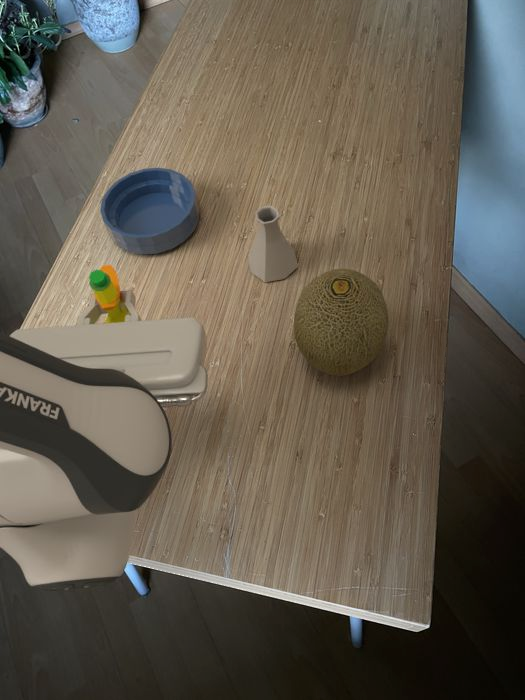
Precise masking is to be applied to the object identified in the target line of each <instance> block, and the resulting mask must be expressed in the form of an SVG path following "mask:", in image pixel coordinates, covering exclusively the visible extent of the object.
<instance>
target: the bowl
mask: <svg viewBox="0 0 525 700" xmlns="http://www.w3.org/2000/svg"><path fill="white" fill-rule="evenodd" d="M100 204H101V205H100V209H99V210H100V215H101V218H102V221H103V224H104V226H105V229H106V231H107V232H108V235H109V237H110V239H111V240H112V241H113V243H114V244H115V245H116V246H118V247H119V248H121V249H123V250H125V251H126V252H129V253H133V254H138V255H153V254H160V253H165V252H166V251H170V250H172V249H175V248H176V247H178V246H179V245H181V244H183V243H184V242H185V241H186V240H187V239H188V238H190V236H191V235H192V234H193V233H194V231H195V230H196V227H197V225H198V223H199V220H200V206H199V202H198V198H197V195H196V190H195V189H194V186H193V184H192V182H191V181H190V179H188V178H187V177H186V176H185V175H184V174H182V173H181V172H178V171H176V170H173V169H171V168H163V167H150V168H142V169H139V170H136V171H132V172H129V173H128V174H126V175H124V176H122V177H121V178H119V179H117V180H116V181H115V182H114V183H113V184H112V185H111V186H110V187H109V188H108V189H107V191H106V192H105V193H104V196H103V197H102V199H101V203H100Z"/></svg>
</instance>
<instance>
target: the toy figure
mask: <svg viewBox="0 0 525 700" xmlns="http://www.w3.org/2000/svg"><path fill="white" fill-rule="evenodd" d="M115 270H116V269H115V268H114V267H113V266H112V265H111V264H106V265H102V266H101V267H100V268H99V269H94V270H93V271H91V272H90V274H89V275H88V276H89V277H88V279H89V283H88V284H89V286H90V288H91V289H92V291H93V293H94V297H95V298H96V300H97V301H98V303H99V304H100V306H101V307H102V309H103V310H106V311H107V312H108V314H107V316H106V318H105V320H104V321H105V322H104V323H116V322H125V316H126V315H130V314H129V312H124V313H121V310H120V306H119V301H120V298H119V297H120V291H121V288H120V283H119V278H118V274H117V272H116V271H115Z"/></svg>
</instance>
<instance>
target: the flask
mask: <svg viewBox="0 0 525 700" xmlns="http://www.w3.org/2000/svg"><path fill="white" fill-rule="evenodd" d="M254 215H255V219H256V222H257V223H258V226H257V233H256V235H255V238H254V241H253V243H252V245H251V248H250V250H249V253H248V255H247V260H248V267H249V271H250V273H251V274H252V275H254V276H255V277H257V278H258V279H259V280H260V281H262V282H263V283H268V282H269V283H270V282H276V281H279V280H285V279H286V278H287V277H289V276H290V275H291V274H292V273H293V272H295V271H296V269H298V268H299V264H298V260H297V255H296V251H295V250H294V248H293V247H292V245H291V244H290V242H289V241H288V240H287V238H286V236H285V235H284V233H283V231H282V229H281V228H280V225H279V221H280V219H281V215H280V211H279V209H278V208H277V207H275V206H274V205H272V204H268V205H264V206H261V207H259V208H258V209H257V210H256V211H255V212H254Z"/></svg>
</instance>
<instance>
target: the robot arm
mask: <svg viewBox="0 0 525 700" xmlns="http://www.w3.org/2000/svg"><path fill="white" fill-rule="evenodd" d="M119 298H120V301H119V306H120V310H121V313H124V312H129V314H130V315H126V316H125V322H116V323H105V322H103V323H97V322H98V320H99V319H100V317H101V316H102V315H108V312H107V311H106V310H103V309H102V307H101V306H100V304H99V303H98V301H97V300H96V298H95V297H94V292H92V293H91V298H90V304H89V305H88V306H86V308H85V309H84V310H83V311H82V312H81V313H80V314H79V315H78V317H77V318H76V323H75V324H76V325H62V326H47V327H32V328H18V329H15V330H14V331H13V332H12V333H11V334H10V335H8V334H6V333H4V332H2V331H0V549H2V550H3V551H5V553H7V554H8V555H9V556H10V557H11V558H12V559H13V560H14V561H15V562H16V563H17V565H18V566H19V567H20V569H21V571H22V573H23V576H24V577H25V581H26V582H27V584H28V585H29V586H31V587H32V588H34V589H37V590H39V591H43V592H57V591H58V592H59V591H69V590H75V589H76V590H77V589H85V588H93V587H101V586H106V585H109V584H111V583H114V582H115V581H116V580H117V579H119V578H120V577H122V575H123V574H124V572H125V569H126V568H127V566H128V562H129V559H130V556H131V552H132V548H133V544H134V538H135V532H136V528H137V527H136V526H137V520H138V512H139V511H138V510H139V508H141V507H142V506H143V505H144V504H145V503H146V502H147V500H148V498H150V497H151V495H152V494H153V492H154V491H155V490H156V488H157V486H158V485H159V483H160V482H161V479H162V477H163V475H164V473H165V471H166V469H167V467H168V464H169V461H170V458H171V453H172V447H173V445H172V444H173V442H172V441H173V439H172V431H171V425H170V422H169V418H168V416H167V414H166V412H165V410H164V408H170V407H177V408H184V407H185V408H186V407H189V406H192V404H193V402H197V401H199V400H200V399H202V398H203V397H204V396H205V394H206V392H207V390H208V371H207V369H206V368H205V363H206V358H207V349H208V337H207V336H208V335H207V333H206V329H205V326H204V325H203V324H202V322H201V321H200V320H199V319H198V318H197V317H194V316H192V317H191V316H189V317H174V318H160V319H146V320H142V318H141V316H140V314H139V312H138V311H137V309H136V303H137V301H136V295H135V293H134V291H133V290H132V289H131V290H120V297H119Z"/></svg>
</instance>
